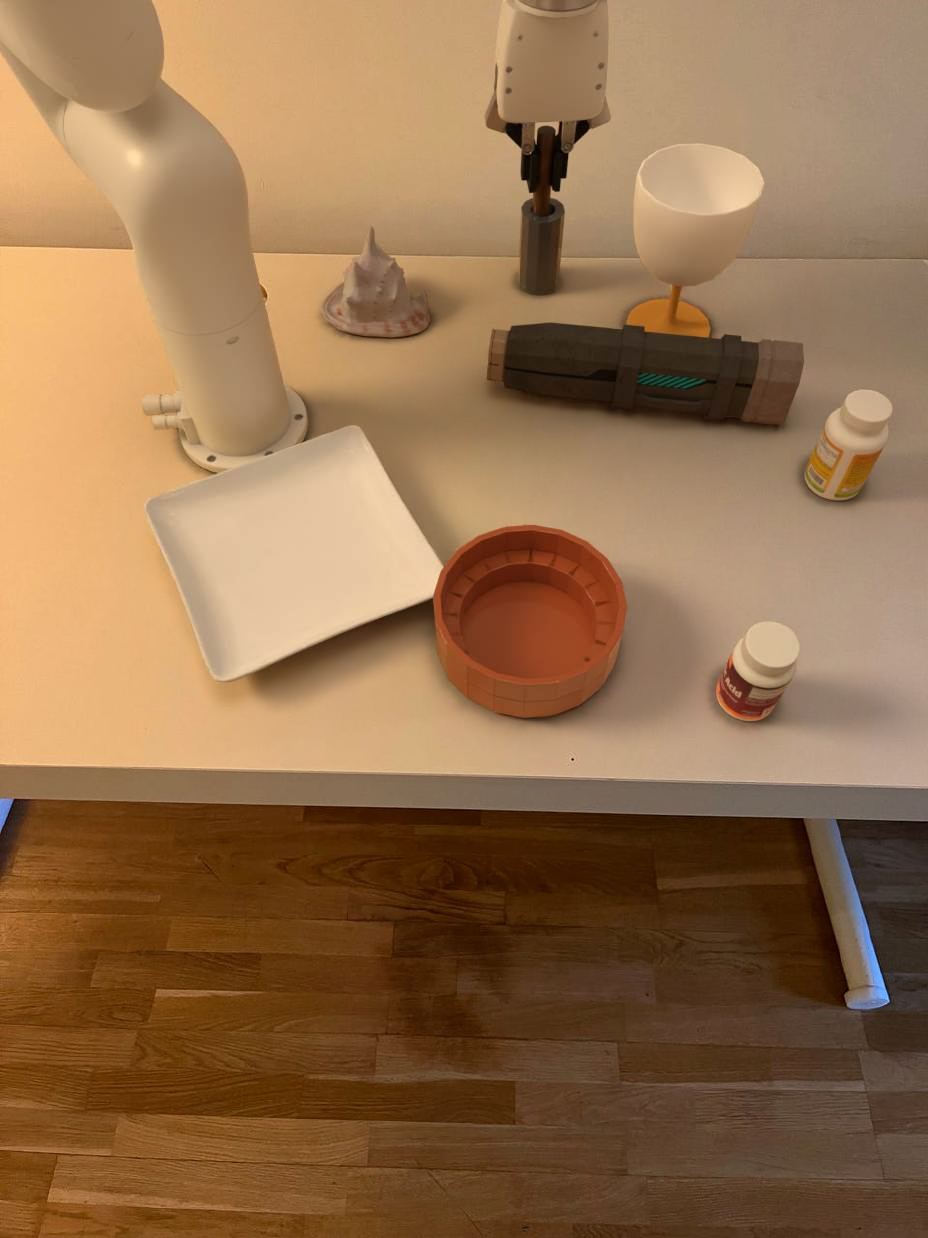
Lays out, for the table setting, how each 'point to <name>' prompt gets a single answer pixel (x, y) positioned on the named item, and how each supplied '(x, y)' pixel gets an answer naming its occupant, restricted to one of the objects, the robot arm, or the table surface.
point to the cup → (690, 226)
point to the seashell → (375, 297)
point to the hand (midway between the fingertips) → (542, 183)
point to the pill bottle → (758, 671)
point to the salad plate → (291, 551)
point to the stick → (544, 170)
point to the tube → (649, 369)
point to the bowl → (528, 620)
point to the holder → (540, 248)
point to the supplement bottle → (849, 445)
